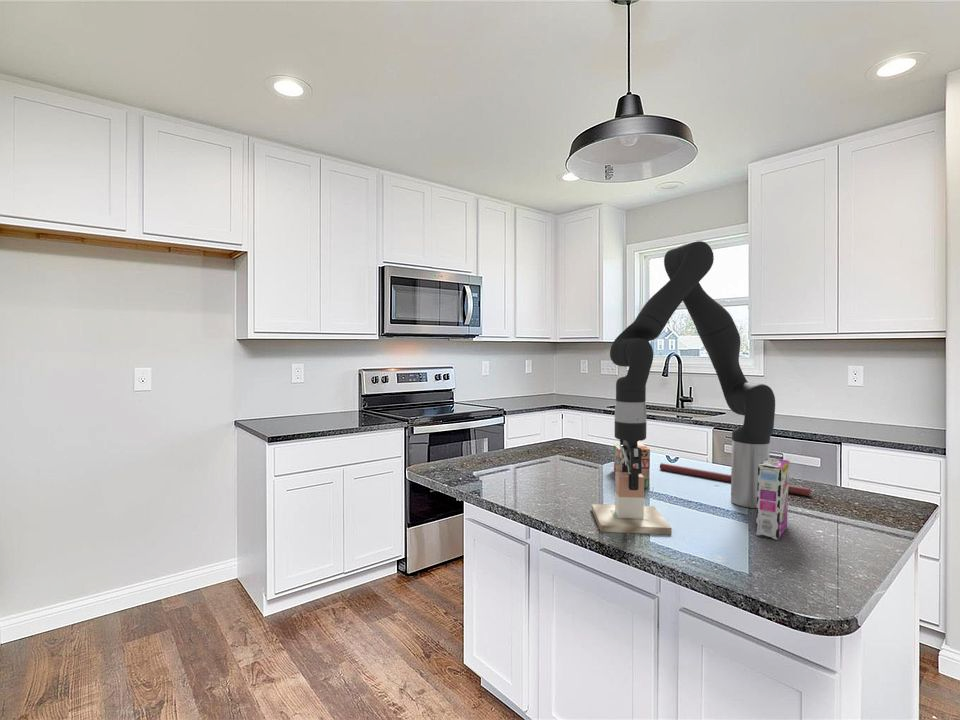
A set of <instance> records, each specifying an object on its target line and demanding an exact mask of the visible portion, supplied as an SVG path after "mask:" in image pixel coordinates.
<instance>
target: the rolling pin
mask: <svg viewBox="0 0 960 720" xmlns="http://www.w3.org/2000/svg"><path fill="white" fill-rule="evenodd" d="M659 469H660V470H661V471H662V470H663V471H667V472H673V473H677V474H683V475H689V476H695V477H700V478H704V479H705V478H707V479H710V480H711V479H712V480H717V481H721V482H722V481H723V482H727V483H729V482H730V483H731V474H728V473H723V472H722V473H721V472H715V471H710V470H703V469H698V468H692V467H688V466H687V467H686V466H680V465H675V464H669V463H663V462H661V463H660V464H659ZM789 493H790V494H795V495H801V496H805V497H810V496H811V495H812V490H811V488H809V487H804V486H798V485H791V484H789V485H788V494H789Z"/></svg>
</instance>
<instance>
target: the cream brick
mask: <svg viewBox="0 0 960 720" xmlns="http://www.w3.org/2000/svg"><path fill="white" fill-rule="evenodd" d="M614 493H615V494H614V505H615V512H616V514H617V516H618V518H644V506H645V502H644V501H645V497H644V498H636V497H618V495H617V494H616V492H615V491H614Z"/></svg>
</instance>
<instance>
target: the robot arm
mask: <svg viewBox="0 0 960 720" xmlns="http://www.w3.org/2000/svg"><path fill="white" fill-rule="evenodd" d="M714 257H715V256H714V251H713V248H712V247H711V246H710V245H709V244H708V243H707V242H706V241H703V240H695V241H694V240H693V241H690V242H689V241H688V242H686V243H684V244H682V245H678V246H675V247H673V248H670V249H669V250H668V251H666V253H665V255H664V258H663V264H664V265H663V266H664V271H665V272H666V274H667V276H668V278H669V280H668V282H666V283H665V284H664V285H663V286H662V287H660V289H659V290H658V291H656V292H655V293H654V294H653V295H652V296H651V297H650V298H649V299H648V301H646V302H645V304H644V305H643V307H642V308H641V309H640V312H639V313H638V314H637V316H636V317H635V319H634V321H633V322H632V323H631V324H629V325H628V326H627V327H626V328H625V329H624V330H623V331H622V332H621V333H619V335H617V336H616V337H615V339H614V341H613V342H612V344H611V347H610V349H609V356H610V360H611V362H612V363H613V364H615V366H618V367H624V368H626V367H627V368H628V370H627V373H626V375H625V376H621V377H619V378H617V380H616V383H615V407H614V435H613V436H614V438H615V439H616V440H619V445H620V458H619V460H620V461H621V465H623V466H622V472H628V473H629V481H628V488H629V489H630V490H638V487H639V474H641V472H642V470H641V452H642V450H641V448H638V444H637V442H638V441H639V442H641V441H645V440H646V439H647V418H648V417H647V413H648V412H647V404H646V403H647V402H646V397H647V395H646V394H647V393H646V391H647V387H646V385H647V383H648V378H649V376H650V372H651V368H652V364H653V360H654V349H653V347H652V344H651V341H654V340H656V339H658V337H660V335H661V333H662V332H663V330H664V329H665V328H666V325H667V324H668V323H669V321H670V319H671V318H672V315H674V313H675V312H676V311H677V310H678V307H679V306H680V305H681V304H682V302H683V305H685V308H686V310H687V312H688V314H689V315H690V318H691V320H692V323H693V325H694V326H695V329H696V331H697V334H698V336H699V338H700V340H701V342H702V344H703V347H704V349H705V351H706V353H707V355H708V358H709V360H710V362H711V364H712V367H713V369H714V371H715V373H716V375H717V379H718V381H719V384H720V387H721V390H722V393H723V397H724V400H725V402H726V404H727V406H728V408H729V409H730V410H731V411H732V412H733V413H735V414H737V415H740V416H744V420H743V424H742V425H741V426H740V427H737V428H734V429H733V430H732V432H731V470H730V471H731V472H730V473H731V474H730V475H731V482H730V502H731V503H733V504H735V505H736V506H739V507H744V508H751V509H757V485H758V465H759V464H760V463H762V462H763V461H765V460H766V459H767V458H770V452H771V451H770V450H771V449H770V446H771V444H770V443H771V436H772V434H773V431H774V427H775V415H776V413H775V412H776V398H775V394H774V390H773V389H772V388H771V387H770V386H769V385H767V384H763V383H756V382H755V383H754V382H749V381H748V380H747V379H746V377H745V375H744V372H743V370H742V368H741V365H740V362H739V361H740V352H741V344H742V343H741V342H742V341H741V336H740V333H739V330H738V328H737V326H736V323H735V321H734V319H733V317H732V315H731V314H730V312H728V310H727V309H725V307H723V306H722V305H721V304H720V303H719V302H718V301H716V300H715V299H713V298H712V297H711V296H710V295H709V294H708V293H707V292H706V291H705V289H703V287H702V286H701V284H700V283H701V280H702V279H703V278H704V277H705V276H706V275H707V274H708V273H709V271H710V270H711V269H712V266H713V264H714ZM633 466H636V468H633Z"/></svg>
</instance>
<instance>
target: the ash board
mask: <svg viewBox="0 0 960 720" xmlns="http://www.w3.org/2000/svg"><path fill="white" fill-rule="evenodd" d="M591 511H592V513H593V517H594V518H595V520H596V523H597V526H598V528H599V531H600V532H601V533H626V534H627V533H629V534H651V535H653V534H655V535H672V530H673V529H672V526H671V525H670V524H669V522H668V521H667V520H666V519H665V518H664V517H663V516H662V513H660V511H659V510H658V509H657V507H656V506H654V505H644V518H618V516H617V514H616V512H615V504H601V503H600V504H599V503H598V504H596V503H595V504H591Z"/></svg>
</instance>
